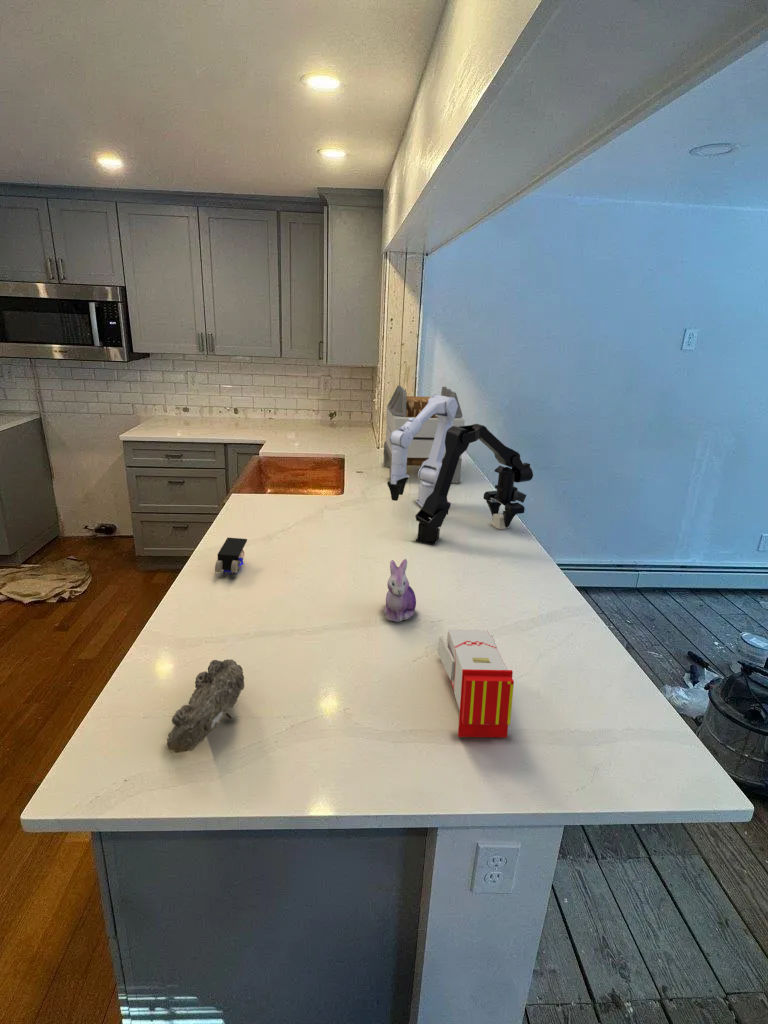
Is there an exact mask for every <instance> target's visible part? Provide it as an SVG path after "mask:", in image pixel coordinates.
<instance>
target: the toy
mask: <svg viewBox="0 0 768 1024" xmlns="http://www.w3.org/2000/svg"><path fill="white" fill-rule="evenodd" d="M446 640H447V643H446V641H445V639H444V636H443V635H442V634H439V637H438V646H437V656H438V657H439V659H440V661H441V663H442V666H443V668H444V670H445V672H446V674H447V677H448V679H449V681H450V684H451V687H452V690H453V693H454V697H455V701H456V705H457V708H458V711H459V714H458V715H459V716H458V730H457V731H458V732H457V737H458V738H508V731H509V726H510V725H511V717H512V707H513V697H514V696H513V695H514V684H515V680H514V679H513V673H514V671H513V670H512V669H508V667H507V665H506V662H505V661H504V659H503V658H502V655H501V653H500V651H499V649H498V647H497V643H496V639H495V637H494V635H493V634H491V632H490V631H489V629H467V628H466V629H465V628H463V629H461V628H460V629H459V628H448V630H447V639H446Z"/></svg>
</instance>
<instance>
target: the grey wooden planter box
mask: <svg viewBox="0 0 768 1024" xmlns="http://www.w3.org/2000/svg"><path fill="white" fill-rule="evenodd" d="M440 393H441V394H440V396H446V397H454V398H455V399H456V401H457V404H458V407H457V411H456V414H455V418H454V420H453V424H452V426H457V427H459V426H465V419H464V418H463V411H462V408H461V405H460V402H459V398H458V395H457V392H455V391H453V390H452V389H451V388H447V386H442V387H441V392H440ZM407 394H408V393H407V390H406V389H404V388H403V387H402V385H399V384H398V385H397V386H396V388H395V390H394V392H393V394H392V395H391V398H390V400H389V402H388V404H387V405H386V413H385V414H386V415H385V423H386V428H385V438H384V442H383V466H384V467H388V468H389V475H388V476H389V477H388V478H389V481H391V476H390V474H391V464H392V448H391V444H390V442H389V438H390V435H391V433H392V432H393V431H395V430H399V429H400V428H401V427H402V426H403V425H404V424H405V423H406V422H407V421H408V419H409V418H412V417H414V418H416V417H417V416H418V414H419V413H420V412H421V411H422V410H423V409H424V408H425V406H426V405H427V404H428V399H430V398H431V396H415V395H414V396H413V395H412V396H411V395H407ZM438 424H439V419H438V417H437V416H436V415H435V414H434V415H433V416H431V417H430V418H429V419H428V420H427V421H425V422H424V423H423V424H422V429H421V430H420V431H419V432H418V433H417V434H416V435H415V436H414V438H413V439H412V442H411V444H410V446H408V451H407V466H411V467H412V466H413V467H415V466H416V467H417V466H418V467H421V466H422V463H423V462H424V461H426V460H428V459H429V455H430V452H431V448H432V445H433V441H434V438H435V434H436V431H437V427H438ZM445 453H446V448H445V452H444V455H443V459H444V456H445ZM443 459H442V462H443ZM462 461H463V460H462V455H461V456H460V458H459V461H458V464H457V467H456V470H455V473H454V476H453V479H452V482H451V484H455V483H456V484H459V483H461V472H462Z"/></svg>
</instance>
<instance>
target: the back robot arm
mask: <svg viewBox="0 0 768 1024" xmlns="http://www.w3.org/2000/svg"><path fill="white" fill-rule="evenodd" d="M430 397H431V398H430V399H428V404H427V405H426V406H425V408H424V409H423V410H422V411H421V412H420V413H419V414H418V416H417V417H416V418H414V417H412V418H409V419H408V421H407V422H406V423H405V424H404V425H403V426H402V427H401V428H400V429H399V430H395V431H393V432H392V433H391V435H390V438H389V442H390V444H391V448H392V464H391V474H390V473H389V475H390V476H391V480H388V481H387V482H386V483H387V484H386V485H387V487H388V489H389V492H390V497H391V501H395V502H397V501H398V500H399V497H400V496H403V494H404V491H405V487H406V484H407V482H408V480H409V478H410V474H409V473H408V474H407V468H408V467H407V451H408V446H410V444H411V442H412V439H413V438H414V436H415V435H416V434H417V433H418V432H419V431H420V430H421V429H422V424H423V423H424V422H425V421H427V420H428V419H429V418H430V417H431V416H433V415H434V414H435V415H436V416H437V417H438V419H439V424H438V427H437V431H436V434H435V438H434V441H433V445H432V448H431V452H430V455H429V459H428V460H426V461H424V462H423V463H422V466H420V467H419V469H418V471H417V478H418V480H419V481H420V482H419V483H420V484H419V486H418V491H417V492H418V493H417V499H416V500H415V502H416V504H418V506H420V507H421V508H422V507H423V505H424V503H425V501H426V499H427V497H428V496H429V495H430V494H431V493H432V492H433V491H434V487H435V484H436V481H437V478H438V475H439V472H440V469H441V466H442V459H443V455H444V452H445V437H446V432H447V430H448V429H449V428H451V427H452V424H453V420H454V418H455V414H456V411H457V407H458V404H457V401H456V399H455V398H454V397H446V396H441V394H432V395H431V396H430Z"/></svg>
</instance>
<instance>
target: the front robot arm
mask: <svg viewBox="0 0 768 1024" xmlns="http://www.w3.org/2000/svg"><path fill="white" fill-rule="evenodd" d="M478 440H479V441H480V442H481V443H482V444H484V446H486V447H487V448H488V449H489V450H490V451H491V452H492V453H493V455H494V458H495V459H496V460H497V462H498V463H499V464H502V465H504V466H502V465H499V466H497V467H496V468H495V469H494V472H495V473H497V474H498V478H497V484H495V485H494V489H496V490H488V491H485V493H483V500H485V501H486V504H487V506H488V508H489V511H490V514H491V516H492V518H493V514H498V513H500V508H501V506H502V505H503V506H504V510H502V513H503V517H504V524H505V528H506V529H509V528H510V526H511V523H512V521H513V519H514V517H515V516H517V515H519V514H525V510H526V507H525V505H524V504H523V503H525V500H526V497H527V494H526V493H524V492H521V491H519V490H518V489H519V488H518V487H516V486H515V484H516V483H523V482H524V483H525V482H530V481H531V480H533V477H534V472H533V468H531V464H530V463H528V462H523V461H522V459H521V454H520V453H519V451H516V450H515V449H512V448H510V447H508V446H507V445H505V444H504V443H503V442H502V441H501V440H500V439H498V438H497V437H496V436H495V435H494V434H493V433H492V432H491V431H490V430H489V429H488V428H487V427H486V426H485V425H483V424H479V423H473V424H470V425H469V424H468V425H464V426H459V427H457V426H452V427H451V428H449V429H448V430H447V432H446V437H445V448H446V453H445V456H444V459H443V462H442V466H441V469H440V472H439V475H438V478H437V481H436V484H435V487H434V491H433V492H432V493H431V494H430V495H429V496H428V497H427V499H426V501H425V503H424V505H423V507H421V508H420V510H419V511H418V512H417V513H416V514H415V516H414V517H415V520H416V522H418V527H417V538H416V539H415V542H417V543H421V544H425V545H430V546H435V544H436V543H437V542H438V541H439V540H440V532H441V527H442V526H443V524H444V521H445V519H446V517H447V515H449V512H450V508H451V506H452V503H451V502H450V501H448V495H449V492H450V489H451V486H452V483H451V482H452V479H453V476H454V473H455V470H456V467H457V464H458V461H459V458H460V456H461V457H462V455H463V454H464V453H465V452H466V451H467V450H468V448H469V445H470V444H471V443H472V444H473V443H475V442H478ZM519 502H520V503H519ZM509 525H510V526H509ZM508 527H509V528H508Z"/></svg>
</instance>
